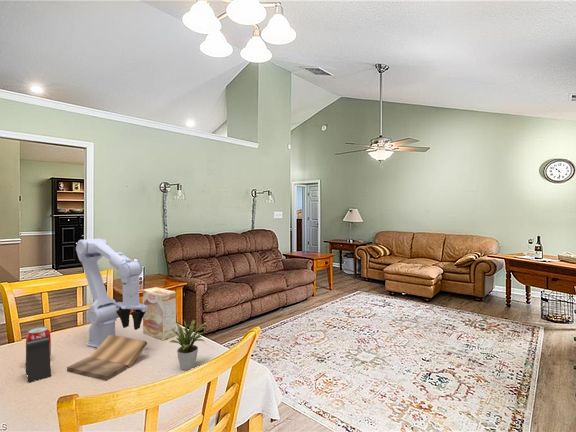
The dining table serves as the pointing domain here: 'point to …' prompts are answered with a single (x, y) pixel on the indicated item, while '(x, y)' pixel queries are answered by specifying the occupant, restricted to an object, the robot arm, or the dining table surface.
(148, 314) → the coffeecake box
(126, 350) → the teak plank
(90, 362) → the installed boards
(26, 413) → the dining table surface
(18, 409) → the dining table surface
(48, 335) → the soda can
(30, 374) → the phone stand
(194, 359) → the house plant
